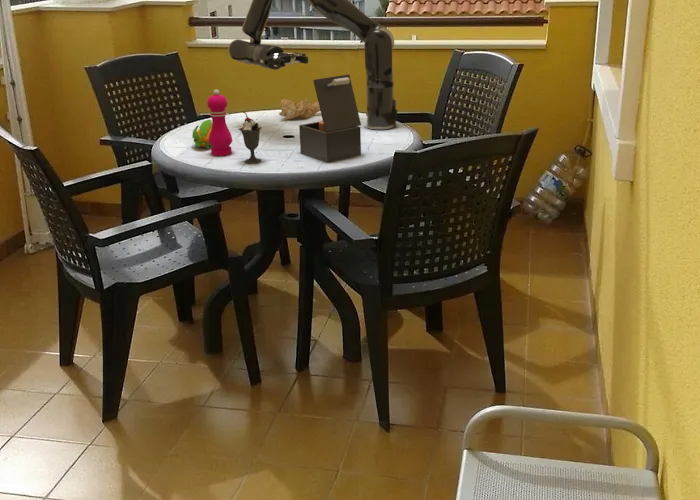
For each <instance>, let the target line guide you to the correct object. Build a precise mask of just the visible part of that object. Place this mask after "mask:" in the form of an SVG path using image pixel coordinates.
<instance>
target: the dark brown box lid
mask: <svg viewBox="0 0 700 500" xmlns="http://www.w3.org/2000/svg"><path fill="white" fill-rule="evenodd" d="M313 85H314V90H315V94H316V99H317V101H318V103H319V107H320V111H319V112H320V115H321V119H322V120H323V124H324V128H325V132H330V131H335V130H340V129H345V128H350V127H355V126H359V127H361V126H362V122H361V120H360V119H361V118H360V114H359V110H358V105H357V101H356V97H355V92H354V88H353V85H352V80H351V76H350V74H343V75H336V76H329V77H322V78H316V79H313Z"/></svg>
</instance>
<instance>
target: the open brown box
mask: <svg viewBox="0 0 700 500" xmlns="http://www.w3.org/2000/svg"><path fill="white" fill-rule="evenodd" d="M298 128H299V147H300V148H299V150H300V154H302V155H305V156H308V157H311V158H313V159H316V160H319V161H322V162H324V163H332V162H336V161H341V160H345V159H350V158H354V157H359V156H362V138H361V137H362V136H361V131H362V130H361V126H355V127H350V128H345V129H340V130H336V131H333V132H328V133H326V132H323V131H319V121H314V122H310V123H304V124H299V125H298Z"/></svg>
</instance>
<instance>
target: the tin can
mask: <svg viewBox="0 0 700 500" xmlns="http://www.w3.org/2000/svg"><path fill="white" fill-rule="evenodd" d="M318 122H319V131H323V132H325V128H324V124H323V119H322V120H319V121H318ZM335 131H336V130H335ZM330 132H333V131H330ZM326 133H328V132H326Z"/></svg>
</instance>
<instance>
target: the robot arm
mask: <svg viewBox="0 0 700 500" xmlns="http://www.w3.org/2000/svg"><path fill="white" fill-rule="evenodd" d="M306 1H307V3H308V4H309V5H310V6H311V7H312V8H313V9H314V10H315V11H317V12H318V13H319V14H320V15H322V16H323V17H324V18H326V19H327V20H328V21H330V22H331V23H333V24H335V25H337V26H339V27H341V28H343V29H345V30H347V31H349V32H350V33H352V34H354V35H355V36H356V37H357V38H358V39H359V40H361V42H363V43H364V68H365V74H366V78H365V82H366V112H365V116H366V128H368V129H369V130H378V131H382V130H384V131H385V130H389V129H393V128H397V119H398V109H397V106H396V105H397V102H396V101H397V100H396V99H395V98H394V87H395V86H394V66H393V48H394V47H395V38H394V35H393V33H392V32H391V31H390V30H389V29H388V28H386V27H385V26H383V25H381V24H380V23H379V22H377V21H375V20H373V19H372V18H371V17H369V16H367V15H366V14H365V13H364V12H363V11H361V9H360V8H358V6H357V5H355V4H354V3H353V2H352V1H351V0H306ZM272 6H273V0H252V1H251V3H250V6H249V9H248V11H247V14H246V16H245V19H244V21H243V24H242V27H241V30H242V33H244V34H245V35H247V37H249V41H247V40H243V39H234V40H232V41H231V42H230V44H229V45H228V50H227V51H228V54H229V55H228V56H229V57H230V58H231V59H232V60H234V61H236V62H240V63H244V64H246V65H254V66H259V67H260V68H264V69H269V70H274V71H277V70H280V69H281V68H285V67H286V65H296V64H298V63H299V64H308V63H309V57H308V56H307V55H306V54H307V53H302V52H296V51H294V52H288V51H284V49H283V48H282V47H281V46H278V45H273V44H267V43H264V44H262V38H263V37H262V36H263V33H264V30H265V28H266V26H267V23H268V19H269V18H270V13H271V9H272Z"/></svg>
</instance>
